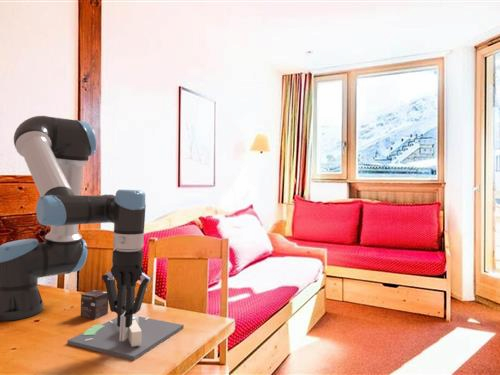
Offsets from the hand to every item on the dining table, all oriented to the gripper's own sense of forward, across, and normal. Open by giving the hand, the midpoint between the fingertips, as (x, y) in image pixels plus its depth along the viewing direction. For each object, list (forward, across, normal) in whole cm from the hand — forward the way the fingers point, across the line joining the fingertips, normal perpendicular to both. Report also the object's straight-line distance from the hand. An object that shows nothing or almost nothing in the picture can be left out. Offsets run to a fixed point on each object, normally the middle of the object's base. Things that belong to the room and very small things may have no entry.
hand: (124, 338), depth 95 cm
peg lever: (+1, -2, +7) cm, 8 cm away
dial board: (+2, -2, +7) cm, 8 cm away
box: (+3, -20, +20) cm, 29 cm away
